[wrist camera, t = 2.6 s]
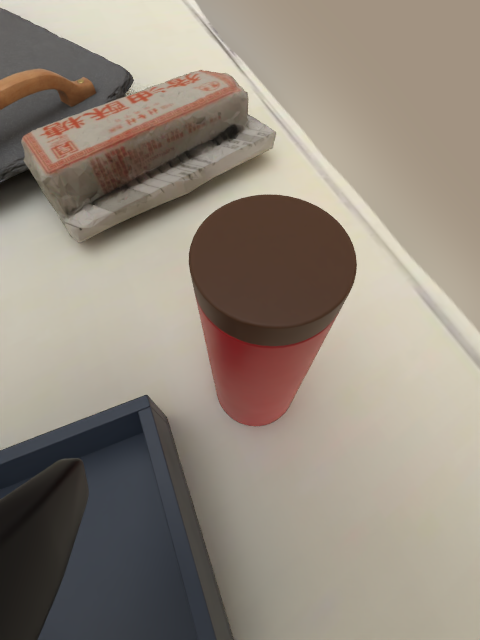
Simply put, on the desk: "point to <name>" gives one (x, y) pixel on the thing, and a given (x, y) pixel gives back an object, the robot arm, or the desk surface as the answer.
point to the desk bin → (126, 532)
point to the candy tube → (267, 297)
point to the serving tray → (46, 84)
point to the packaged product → (143, 150)
